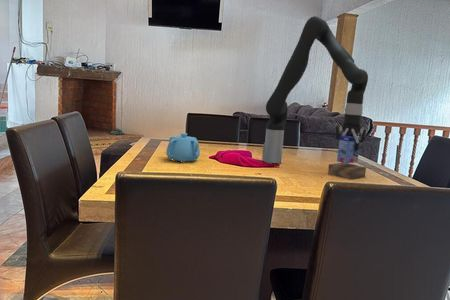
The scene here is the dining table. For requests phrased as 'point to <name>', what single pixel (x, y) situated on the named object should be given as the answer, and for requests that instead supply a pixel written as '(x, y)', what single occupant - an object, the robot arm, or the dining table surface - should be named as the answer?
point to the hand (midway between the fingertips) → (348, 150)
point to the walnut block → (347, 171)
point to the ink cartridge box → (347, 150)
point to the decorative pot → (183, 148)
